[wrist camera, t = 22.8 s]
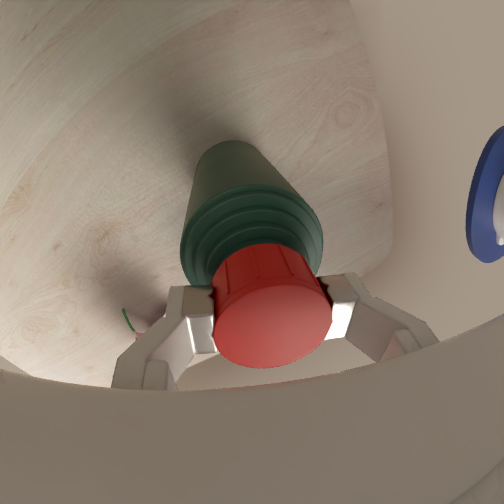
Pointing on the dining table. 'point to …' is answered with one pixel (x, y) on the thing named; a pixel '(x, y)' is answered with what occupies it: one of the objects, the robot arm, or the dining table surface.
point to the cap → (268, 307)
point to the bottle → (243, 212)
